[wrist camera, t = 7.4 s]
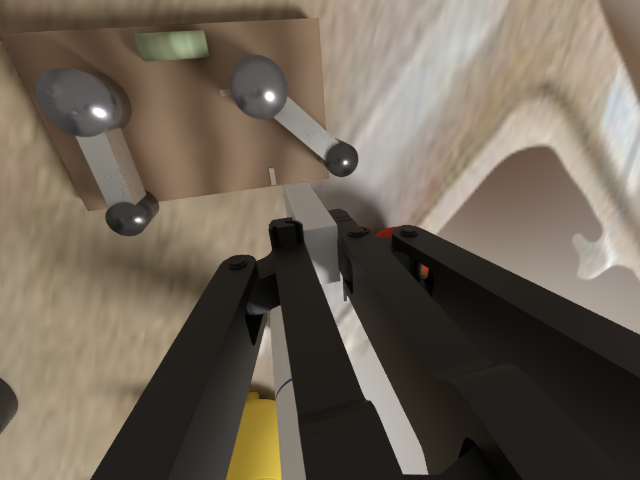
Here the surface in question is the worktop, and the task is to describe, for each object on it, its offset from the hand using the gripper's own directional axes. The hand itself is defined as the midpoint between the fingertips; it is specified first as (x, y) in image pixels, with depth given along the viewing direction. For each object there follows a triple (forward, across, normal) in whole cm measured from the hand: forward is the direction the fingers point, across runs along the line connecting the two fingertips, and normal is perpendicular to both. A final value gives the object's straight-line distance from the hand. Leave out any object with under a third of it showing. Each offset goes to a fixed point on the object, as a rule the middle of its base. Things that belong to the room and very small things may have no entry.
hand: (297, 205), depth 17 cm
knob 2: (+13, +2, +4) cm, 14 cm away
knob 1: (+13, -14, +2) cm, 19 cm away
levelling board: (+15, -7, +5) cm, 17 cm away
